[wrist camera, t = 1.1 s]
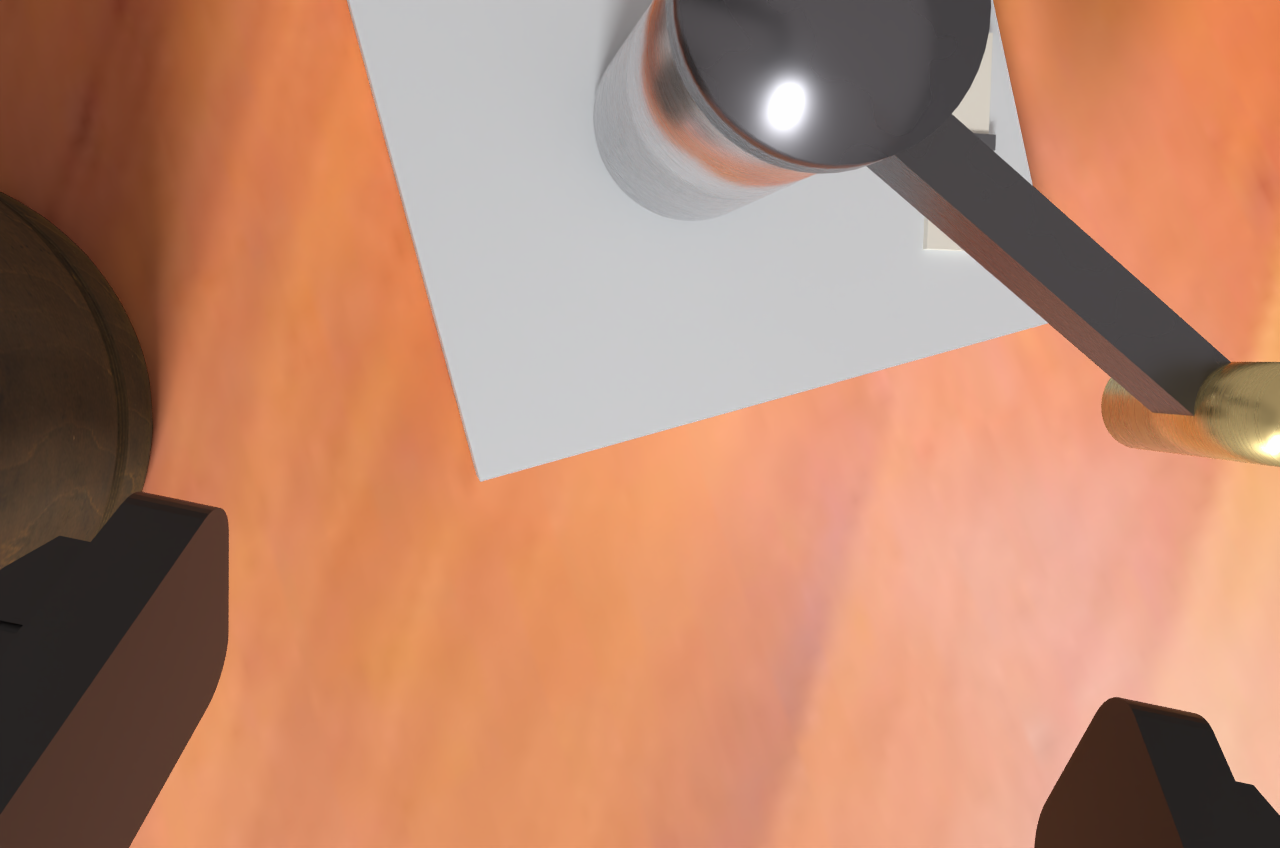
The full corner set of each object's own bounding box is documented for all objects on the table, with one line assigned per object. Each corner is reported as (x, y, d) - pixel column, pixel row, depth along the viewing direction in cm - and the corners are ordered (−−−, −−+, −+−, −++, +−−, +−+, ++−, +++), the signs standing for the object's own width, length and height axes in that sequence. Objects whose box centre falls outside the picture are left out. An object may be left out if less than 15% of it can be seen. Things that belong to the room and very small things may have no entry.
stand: (340, -25, 36) (335, -52, 33) (929, -141, 39) (963, -173, 37) (476, 474, 37) (481, 483, 35) (1030, 321, 41) (1068, 319, 38)
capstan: (539, 136, 35) (611, 16, 22) (670, -33, 35) (812, -244, 23) (985, 498, 38) (1260, 566, 26) (1099, 339, 39) (1422, 331, 26)
